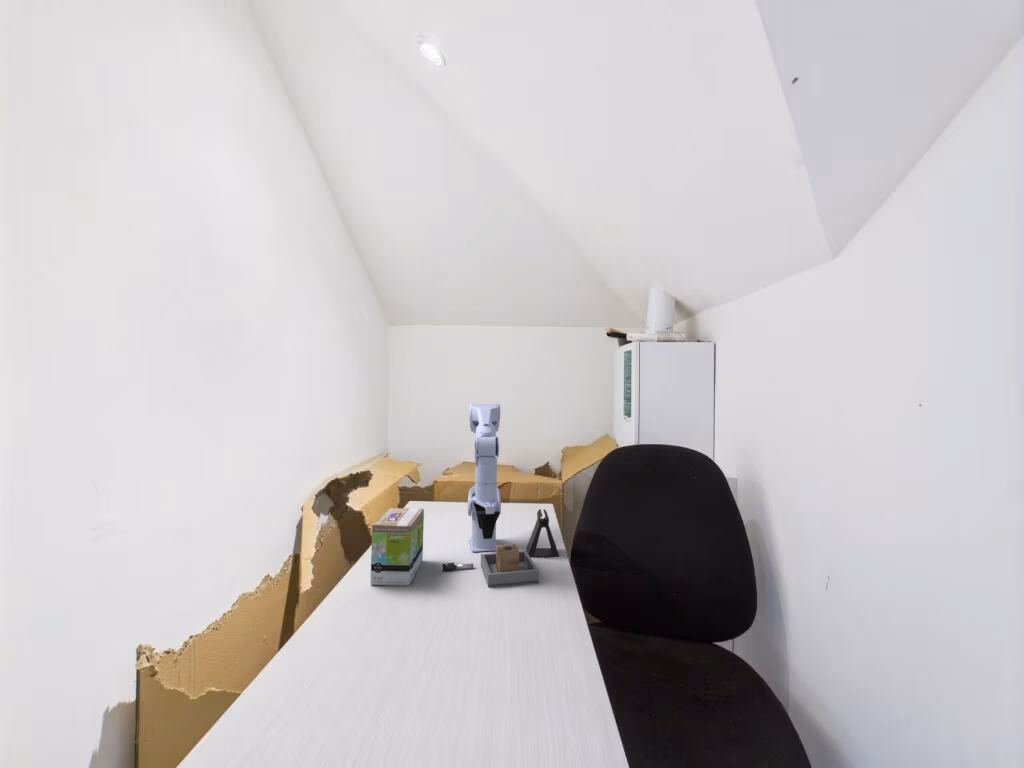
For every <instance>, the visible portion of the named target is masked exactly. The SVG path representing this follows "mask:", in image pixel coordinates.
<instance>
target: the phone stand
mask: <svg viewBox="0 0 1024 768" xmlns="http://www.w3.org/2000/svg"><path fill="white" fill-rule="evenodd" d="M536 514H537V515H536V517H537V518H536V520H535V524H534V527H533V530H532V532H531V536H530V537H529V540H528V542H527V545H526V551H527V553H528V555H529V556H530V558H535V557H537V559H538V558H539V559H540V558H544V559H545V558H546V559H547V558H549V557H560V554H559V551H558V548H557V545H556V541H555V539H554V536H553V534H552V530H551V528H550V525H549V524H550V517H549V515H548V512H547V510H546V509H543V512H542V509H541V508H540V509H538V510H537V513H536ZM543 514H544V517H543ZM542 517H543V518H542ZM543 528H545V531H546V535H547V539H548V542H549V546H550V547H537V546H538V544H539V543H538V542H539V538H540V536H541V531H542V529H543ZM535 559H536V558H535ZM549 559H550V558H549Z"/></svg>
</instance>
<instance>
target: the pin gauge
mask: <svg viewBox="0 0 1024 768" xmlns="http://www.w3.org/2000/svg"><path fill="white" fill-rule="evenodd" d="M467 569H474V563H461V564H455V562H446V563H445V562H444V563H442V572H443V571H444V572H445V571H446V572H447V571H457V570H467Z"/></svg>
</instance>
